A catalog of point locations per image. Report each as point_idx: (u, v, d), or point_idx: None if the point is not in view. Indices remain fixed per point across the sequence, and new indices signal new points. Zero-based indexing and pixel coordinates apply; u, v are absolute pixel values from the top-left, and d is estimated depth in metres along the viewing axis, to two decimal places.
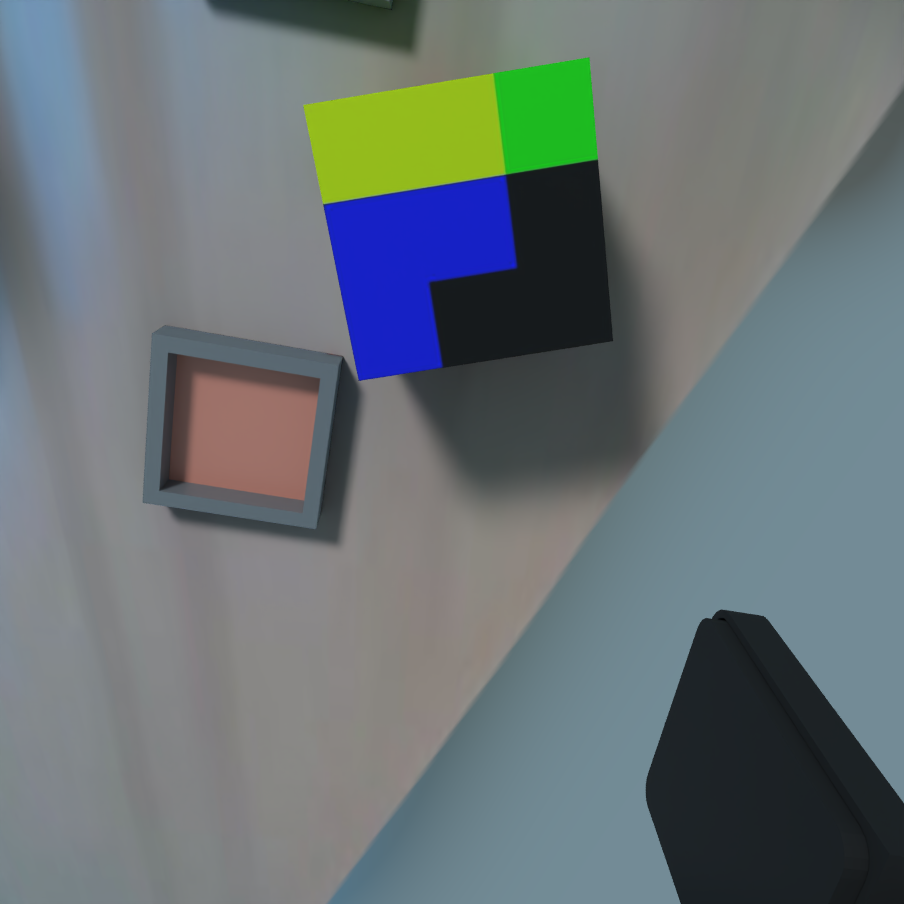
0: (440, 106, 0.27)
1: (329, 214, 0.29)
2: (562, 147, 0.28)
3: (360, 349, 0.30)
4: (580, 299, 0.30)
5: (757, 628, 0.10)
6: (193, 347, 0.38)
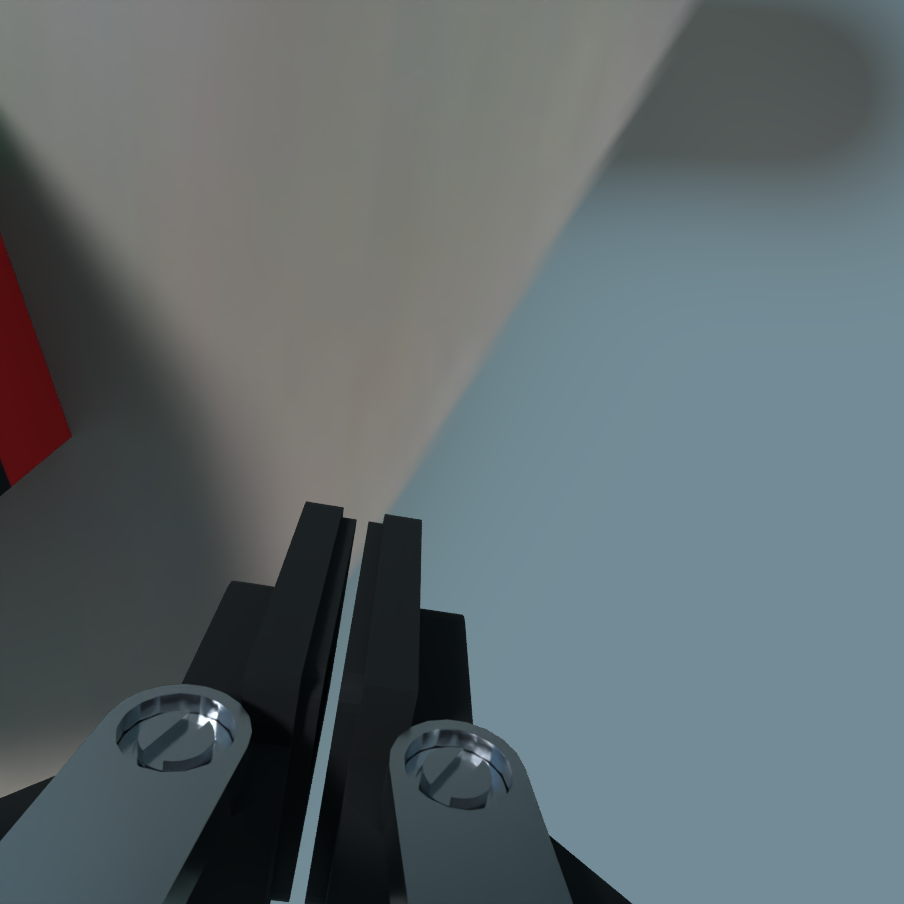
0: None
1: None
2: None
3: None
4: None
5: (402, 527, 0.10)
6: None
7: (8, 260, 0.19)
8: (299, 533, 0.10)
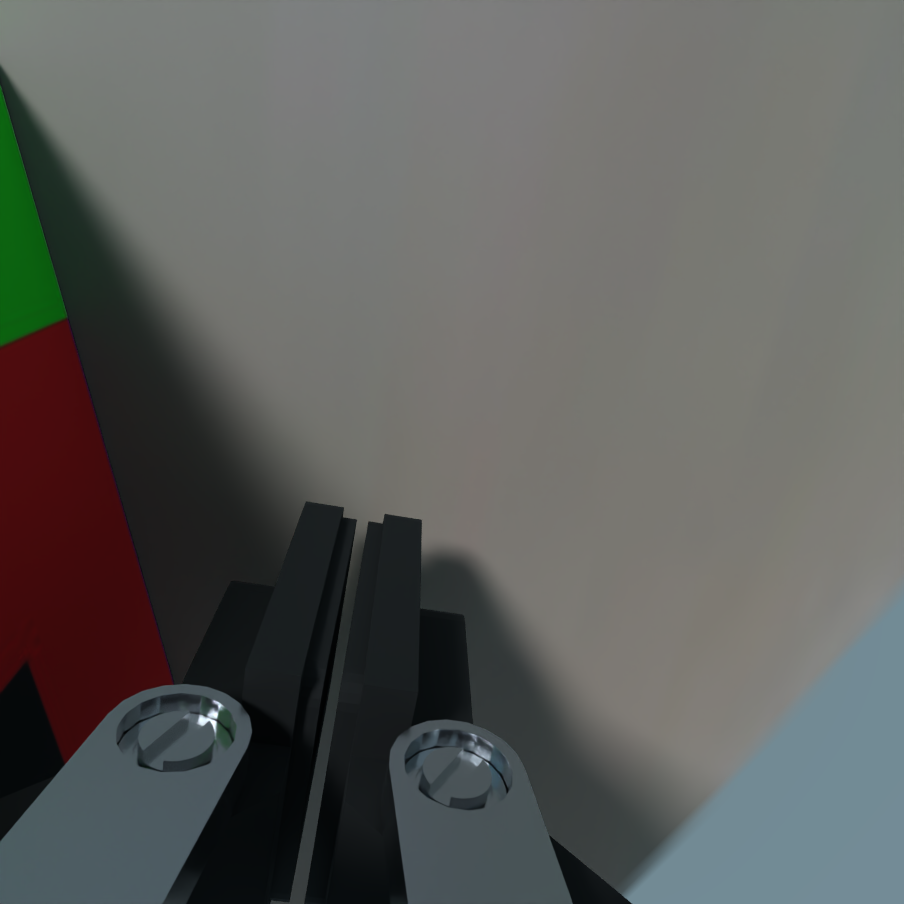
0: None
1: None
2: None
3: None
4: None
5: (402, 527, 0.10)
6: None
7: (104, 459, 0.12)
8: (299, 533, 0.10)
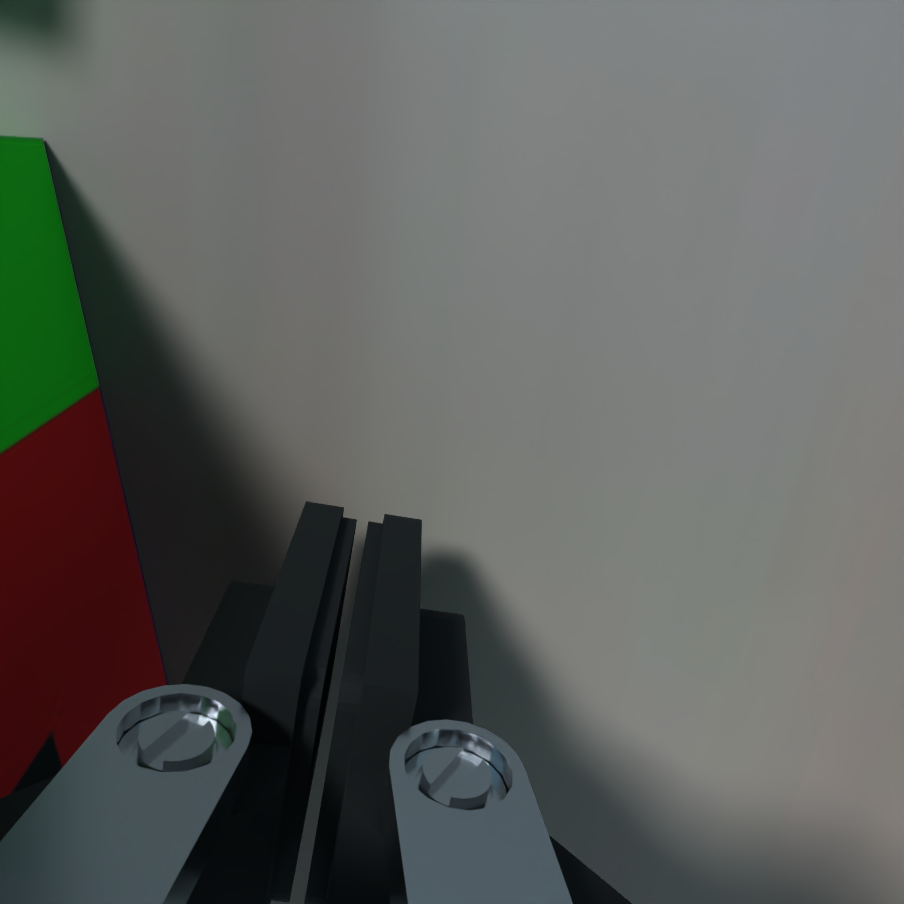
0: None
1: None
2: None
3: None
4: None
5: (402, 527, 0.10)
6: None
7: (126, 522, 0.12)
8: (299, 533, 0.10)
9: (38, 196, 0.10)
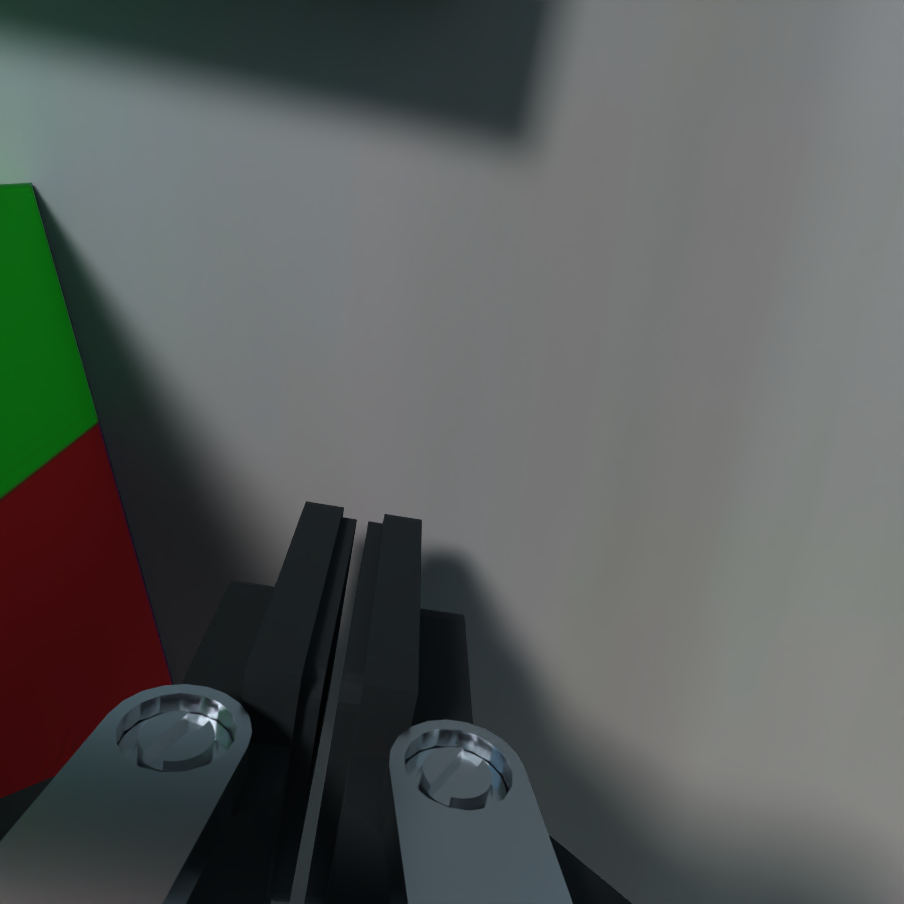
0: None
1: None
2: None
3: None
4: None
5: (402, 527, 0.10)
6: None
7: (131, 553, 0.12)
8: (299, 533, 0.10)
9: (28, 241, 0.10)
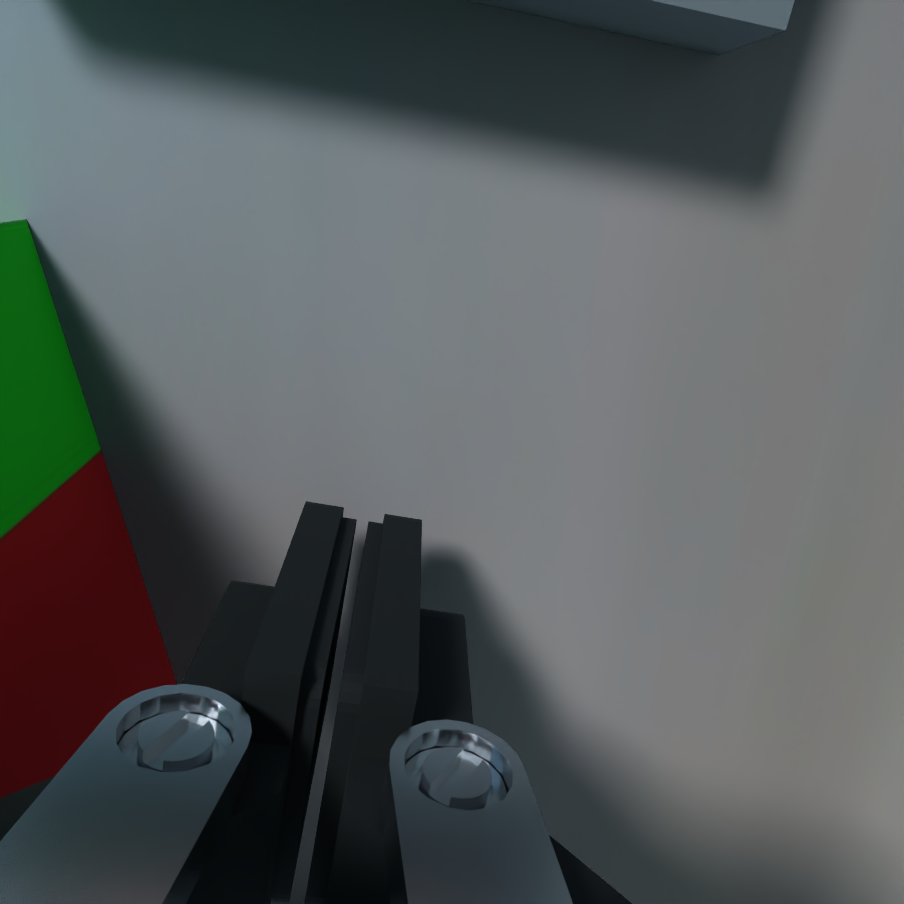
0: None
1: None
2: None
3: None
4: None
5: (402, 527, 0.10)
6: None
7: (139, 575, 0.12)
8: (299, 533, 0.10)
9: (28, 276, 0.10)
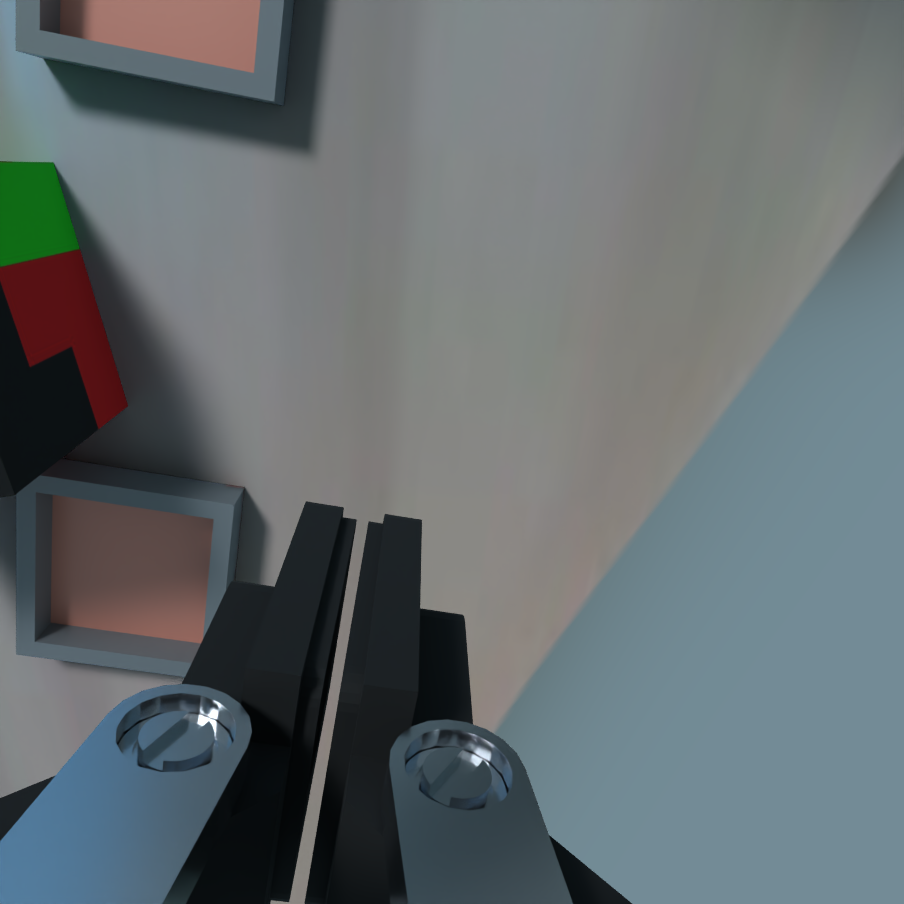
0: None
1: None
2: None
3: None
4: None
5: (402, 527, 0.10)
6: (65, 486, 0.33)
7: (95, 300, 0.32)
8: (299, 533, 0.10)
9: (54, 181, 0.31)
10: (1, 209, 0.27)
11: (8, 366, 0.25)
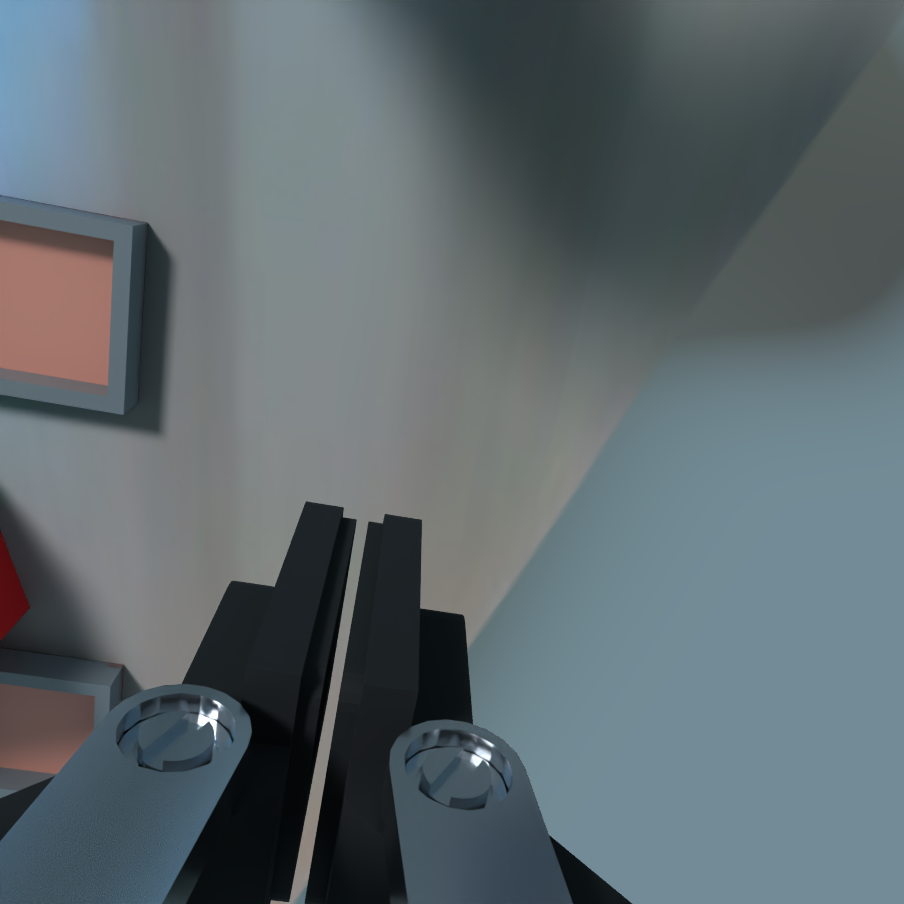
0: None
1: None
2: None
3: None
4: None
5: (402, 527, 0.10)
6: None
7: (1, 535, 0.43)
8: (299, 533, 0.10)
9: None
10: None
11: None
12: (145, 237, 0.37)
